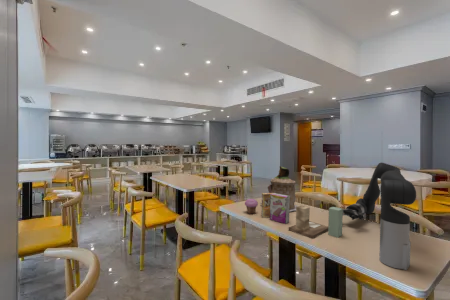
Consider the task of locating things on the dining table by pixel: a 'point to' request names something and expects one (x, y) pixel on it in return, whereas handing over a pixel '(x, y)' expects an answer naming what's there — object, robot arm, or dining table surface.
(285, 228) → the dining table surface
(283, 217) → the candy bar box
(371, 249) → the dining table surface
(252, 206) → the cupcake
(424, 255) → the dining table surface
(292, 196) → the cookie jar
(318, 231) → the base board
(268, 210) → the candy box
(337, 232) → the green block
